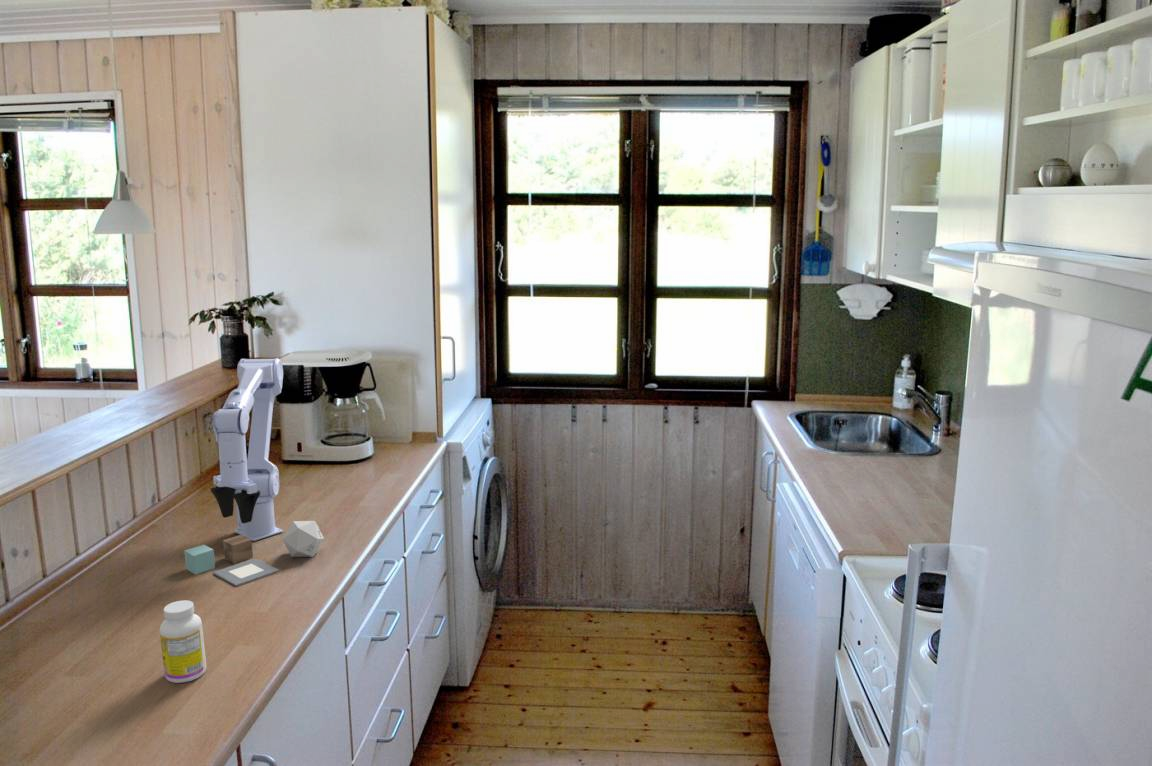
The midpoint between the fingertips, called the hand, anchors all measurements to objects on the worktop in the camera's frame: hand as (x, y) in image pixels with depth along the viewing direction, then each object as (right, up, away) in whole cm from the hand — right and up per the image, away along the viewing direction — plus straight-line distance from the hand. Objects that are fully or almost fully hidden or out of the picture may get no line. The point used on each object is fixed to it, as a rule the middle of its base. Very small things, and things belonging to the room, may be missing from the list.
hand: (237, 519), depth 195 cm
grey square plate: (+4, -11, -6) cm, 13 cm away
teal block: (-7, -11, -3) cm, 13 cm away
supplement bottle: (+9, -20, -46) cm, 51 cm away
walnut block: (-1, -9, +2) cm, 10 cm away
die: (+14, -9, +4) cm, 17 cm away
